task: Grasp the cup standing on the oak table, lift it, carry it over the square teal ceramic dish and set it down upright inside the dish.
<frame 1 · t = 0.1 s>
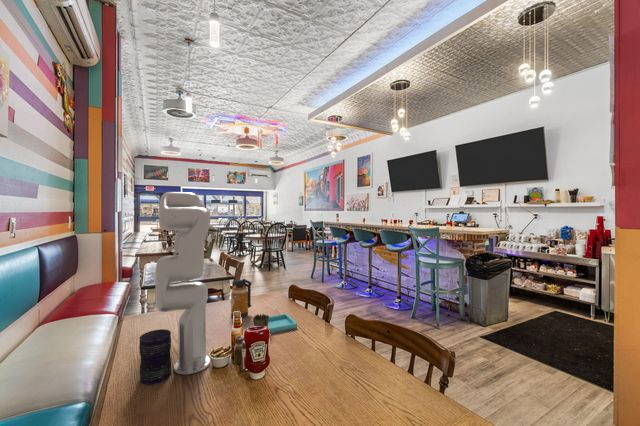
hand: (185, 263, 150), 31 cm above the table, fingers open, 9 cm apart
canister: (241, 315, 163), on the table
dish: (277, 325, 148), on the table
cup: (261, 333, 139), on the table, touching dish
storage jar: (156, 377, 104), on the table
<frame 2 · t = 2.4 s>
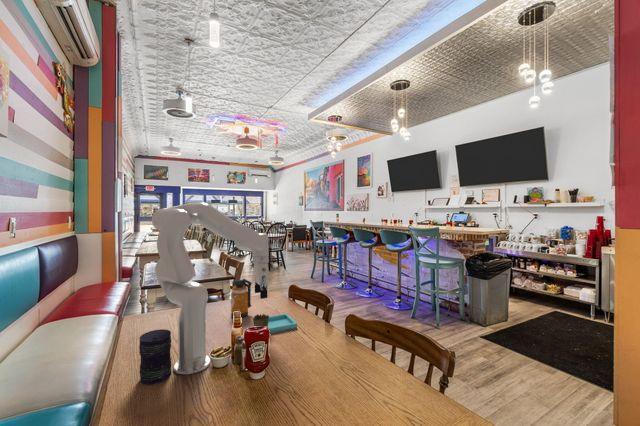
hand: (260, 295, 139), 18 cm above the table, fingers open, 9 cm apart
nothing on the table moved.
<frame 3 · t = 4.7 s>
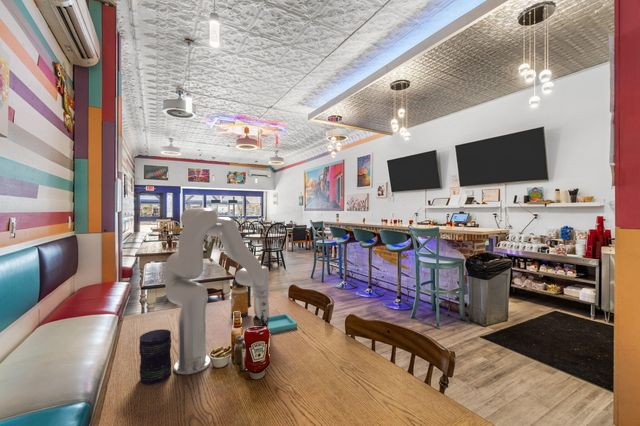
hand: (261, 329, 139), 2 cm above the table, fingers closed on cup, 6 cm apart
cup: (261, 333, 139), on the table, touching dish, gripper
everything else where it was.
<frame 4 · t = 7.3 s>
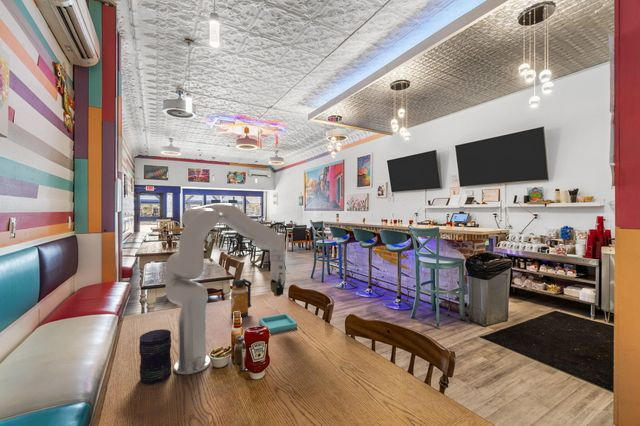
hand: (277, 292, 148), 17 cm above the table, fingers closed on cup, 6 cm apart
cup: (277, 296, 148), point 15 cm above the table, touching gripper
everything else where it was.
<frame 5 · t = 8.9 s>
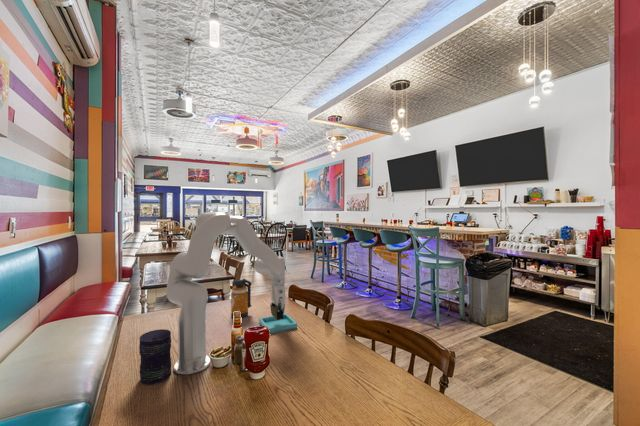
hand: (277, 316, 148), 5 cm above the table, fingers closed on cup, 6 cm apart
cup: (277, 319, 148), point 3 cm above the table, touching gripper
everything else where it was.
when the fingers open (4 cm above the table, at t = 10.2 s): cup stays where it is, resting on dish.
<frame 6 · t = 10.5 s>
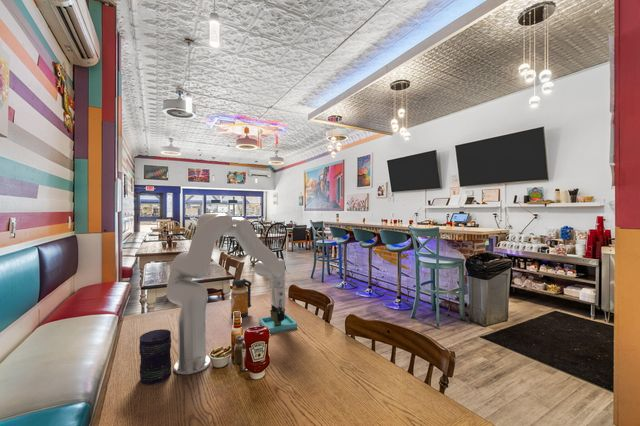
hand: (277, 317, 148), 4 cm above the table, fingers open, 9 cm apart
cup: (277, 325, 148), resting on dish
everything else where it was.
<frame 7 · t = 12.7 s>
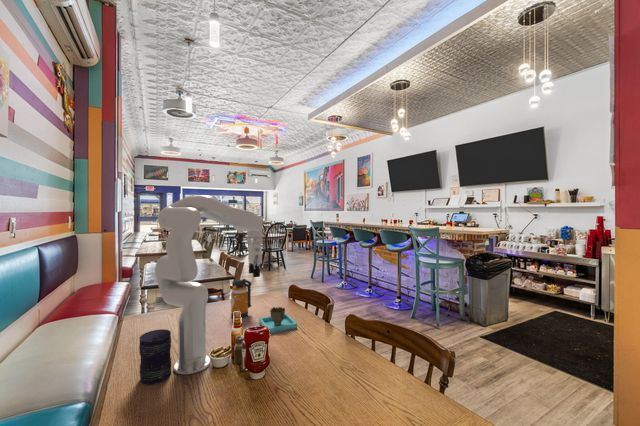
hand: (254, 275, 146), 26 cm above the table, fingers open, 9 cm apart
nothing on the table moved.
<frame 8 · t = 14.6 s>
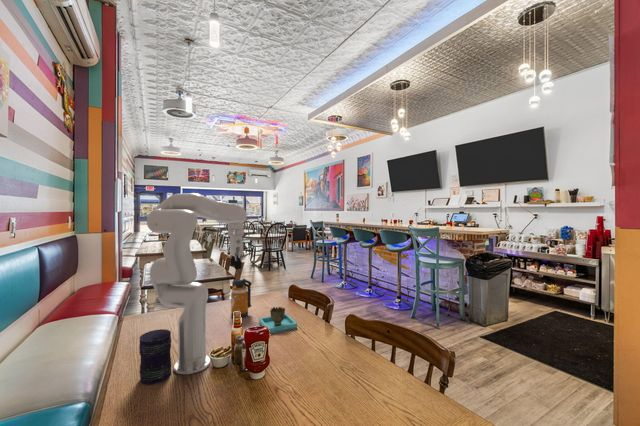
hand: (236, 267, 145), 30 cm above the table, fingers open, 9 cm apart
nothing on the table moved.
at the end: cup inside the target area on the dish (0.3 cm from its centre), point 0.4 cm above the dish's base; cup tilted 0°; the gripper is holding nothing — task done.
